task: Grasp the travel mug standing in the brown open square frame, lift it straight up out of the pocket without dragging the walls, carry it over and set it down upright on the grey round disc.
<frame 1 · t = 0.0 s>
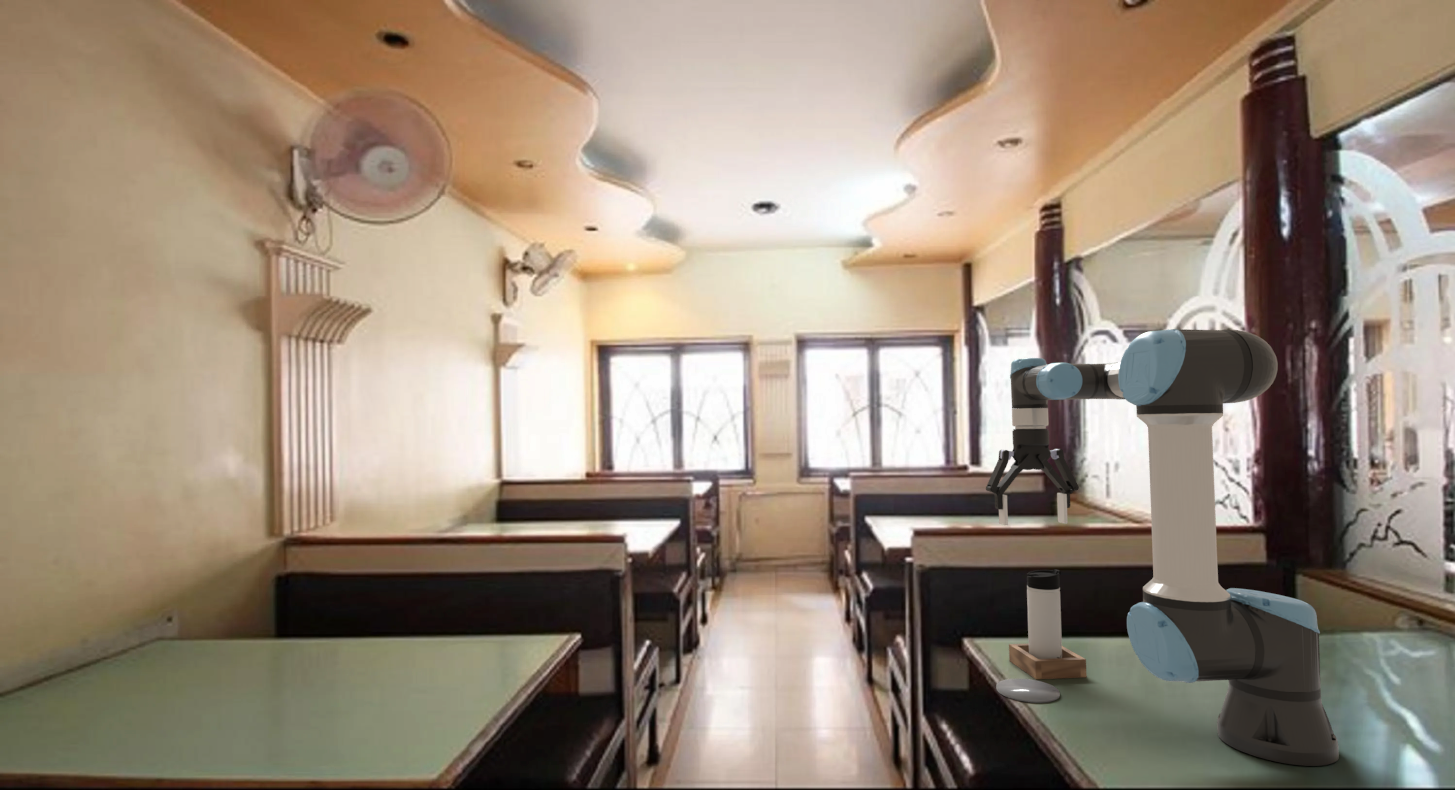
hand: (1033, 523, 164), 28 cm above the table, fingers open, 13 cm apart
brown open square frame: (1046, 668, 151), on the table
grey round disc: (1027, 691, 139), on the table
travel mug: (1046, 669, 151), resting in brown open square frame
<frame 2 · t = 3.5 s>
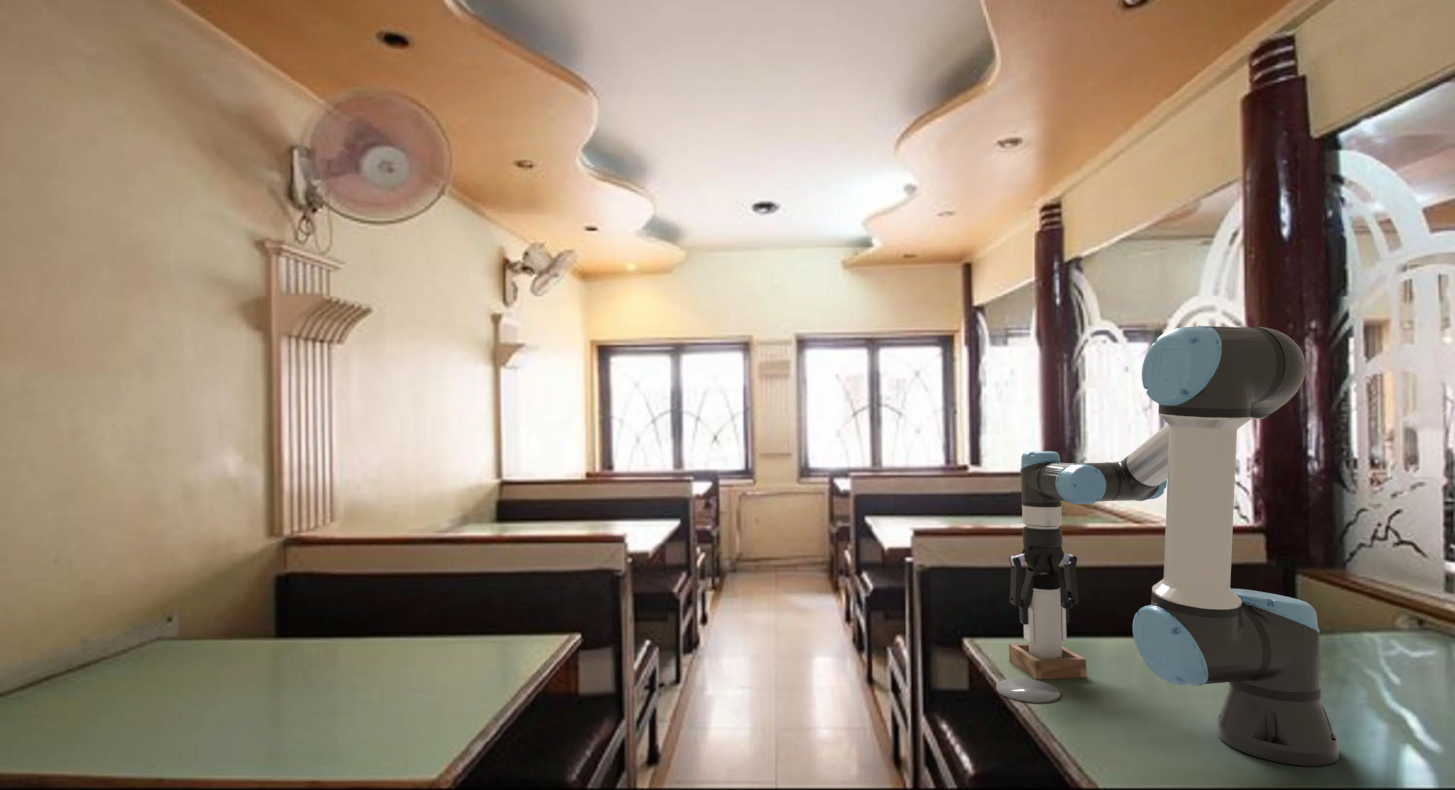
hand: (1045, 639, 152), 6 cm above the table, fingers closed on travel mug, 6 cm apart
travel mug: (1046, 669, 151), resting in brown open square frame, touching gripper
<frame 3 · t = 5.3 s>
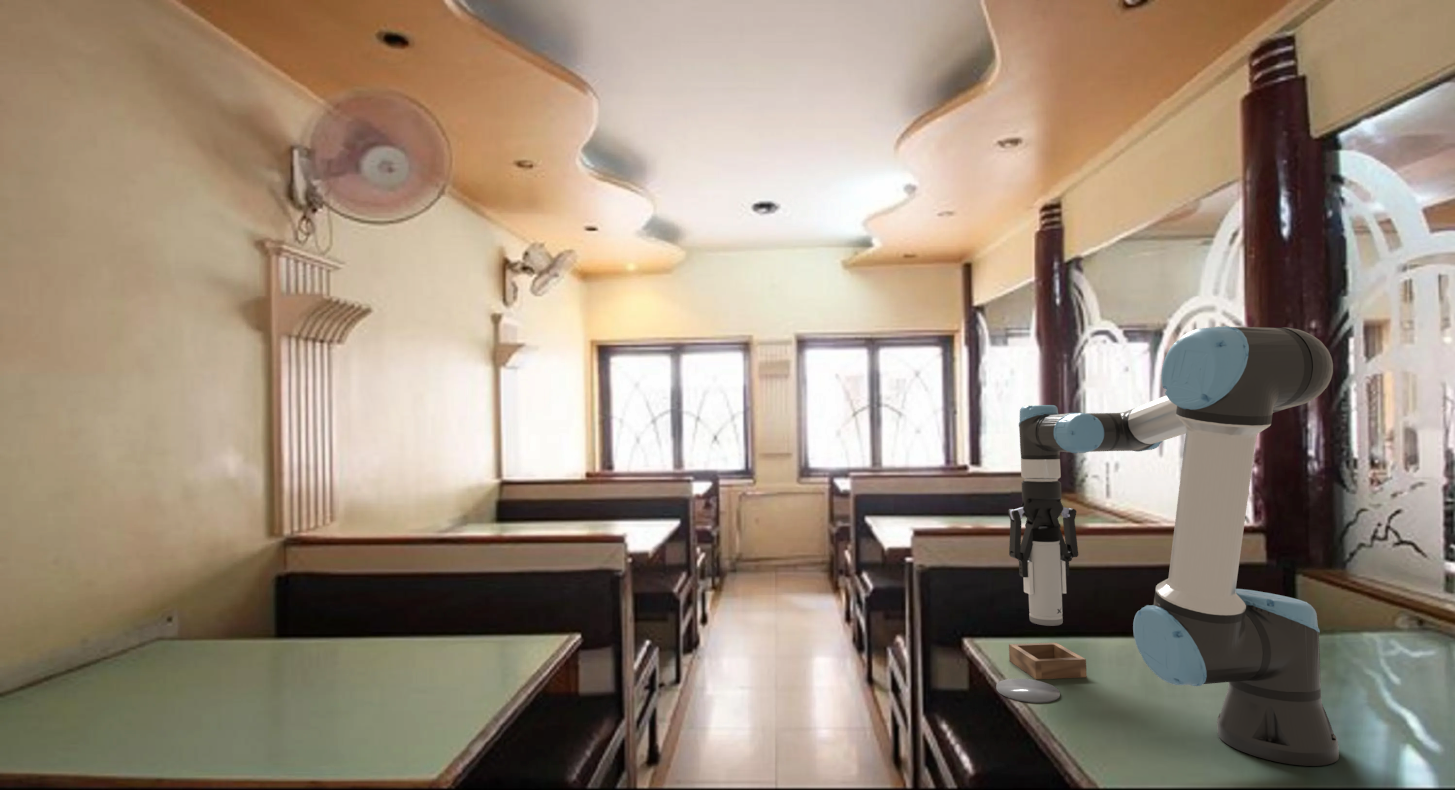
hand: (1045, 592, 152), 16 cm above the table, fingers closed on travel mug, 6 cm apart
travel mug: (1046, 623, 151), point 9 cm above the table, touching gripper
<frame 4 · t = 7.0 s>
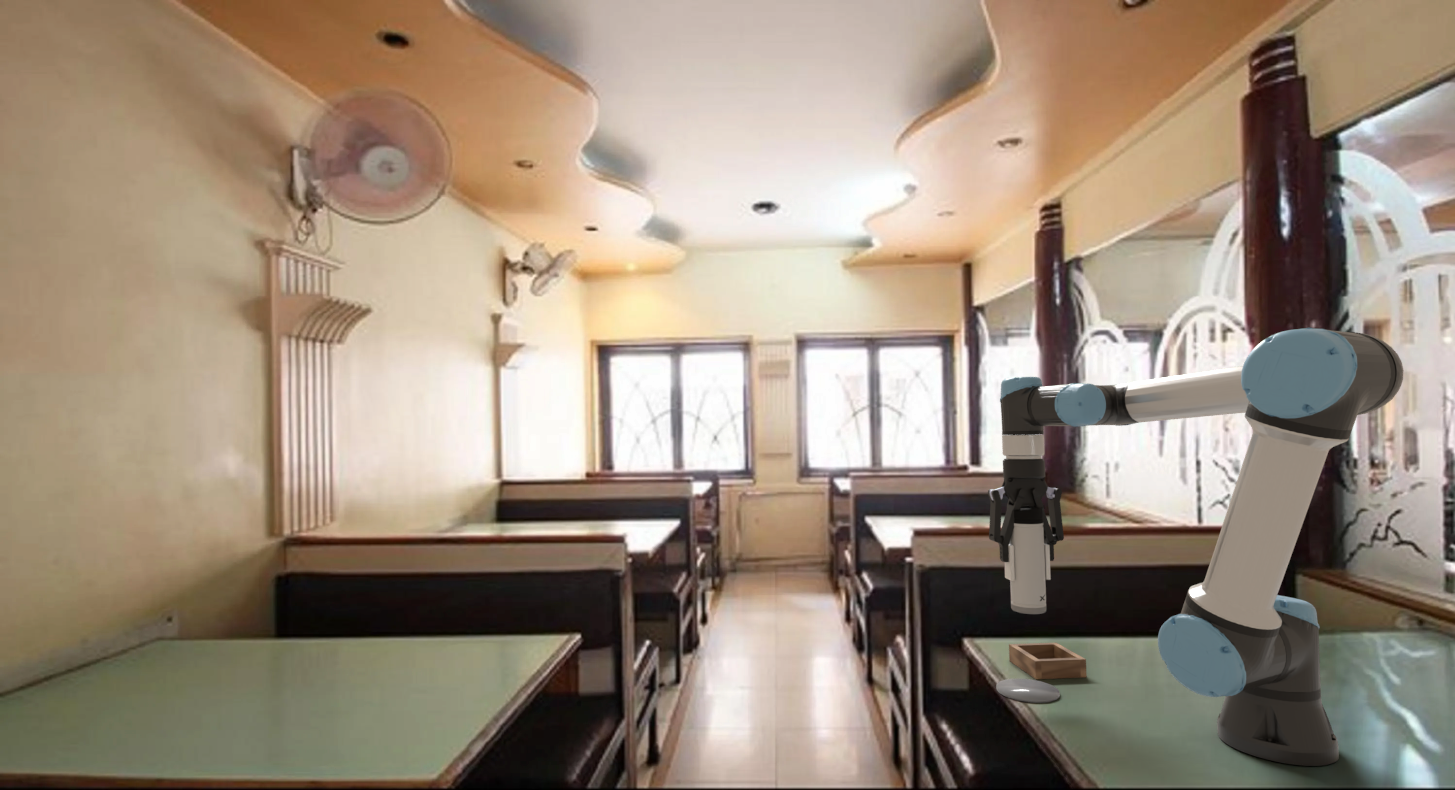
hand: (1027, 578, 141), 21 cm above the table, fingers closed on travel mug, 6 cm apart
travel mug: (1029, 611, 141), point 15 cm above the table, touching gripper
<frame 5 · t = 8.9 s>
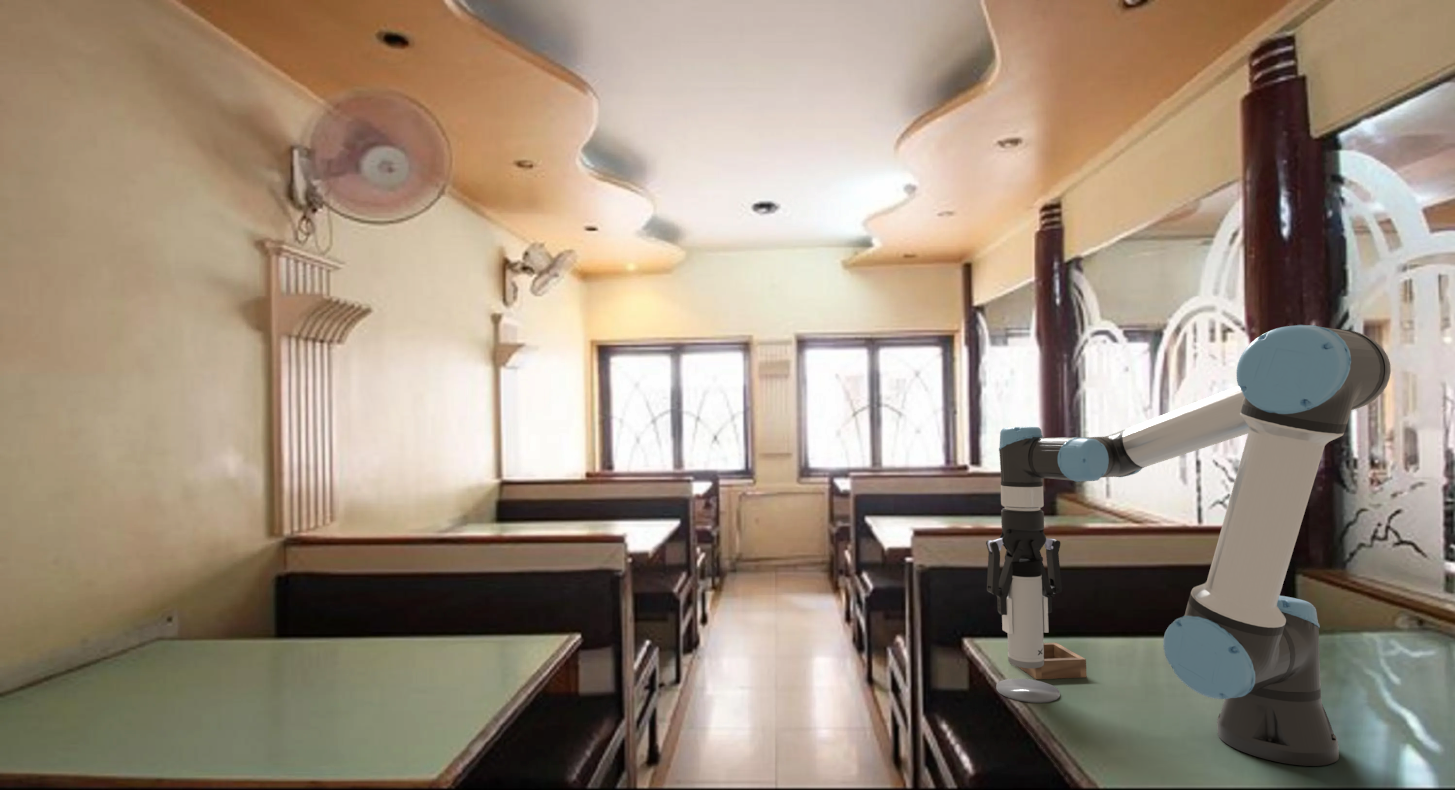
hand: (1025, 631, 139), 11 cm above the table, fingers closed on travel mug, 6 cm apart
travel mug: (1026, 664, 139), point 5 cm above the table, touching gripper
when the fingers open (8 cm above the table, at t = 10.4 s): travel mug drops 1 cm, resting on grey round disc.
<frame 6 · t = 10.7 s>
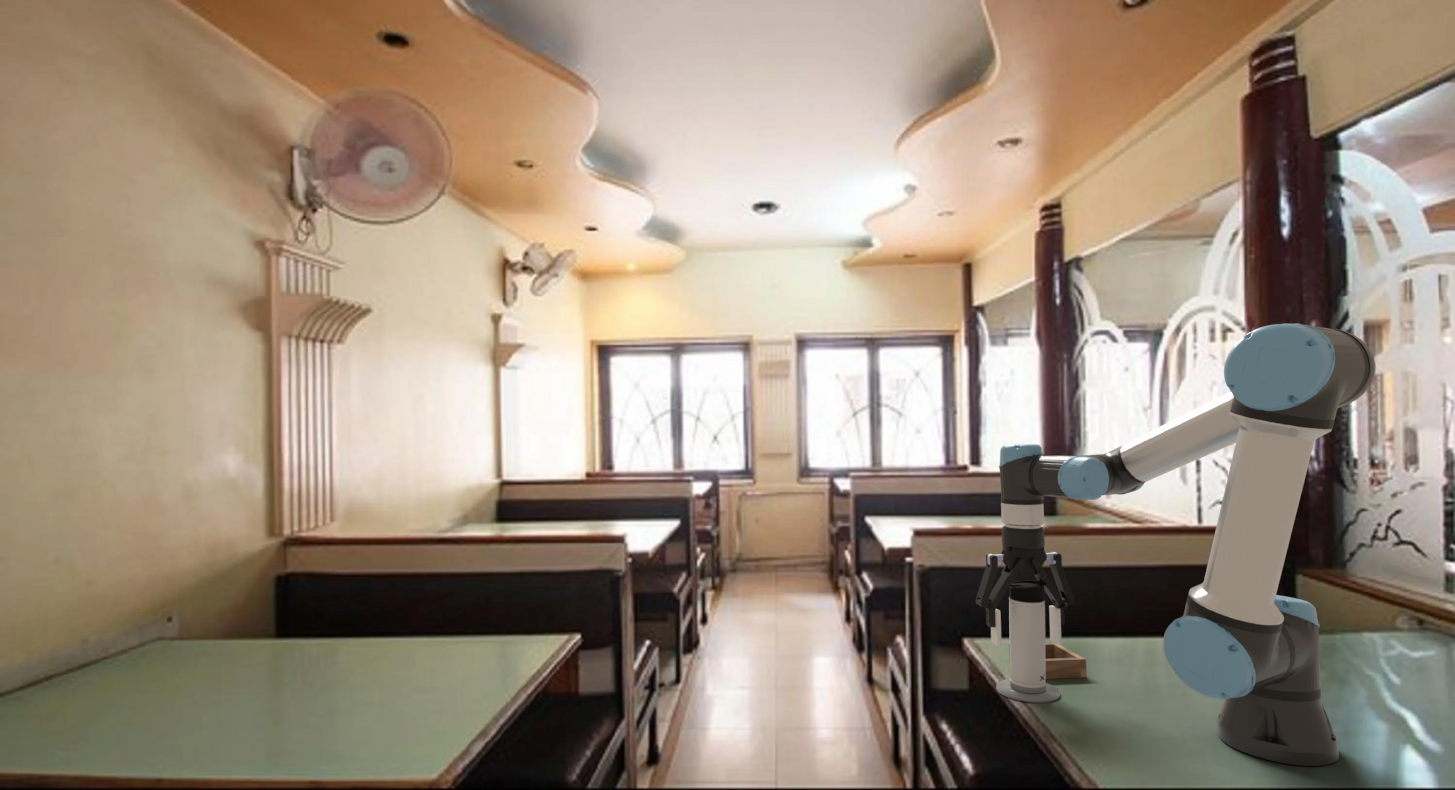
hand: (1026, 643, 139), 9 cm above the table, fingers open, 11 cm apart
travel mug: (1028, 689, 139), resting on grey round disc
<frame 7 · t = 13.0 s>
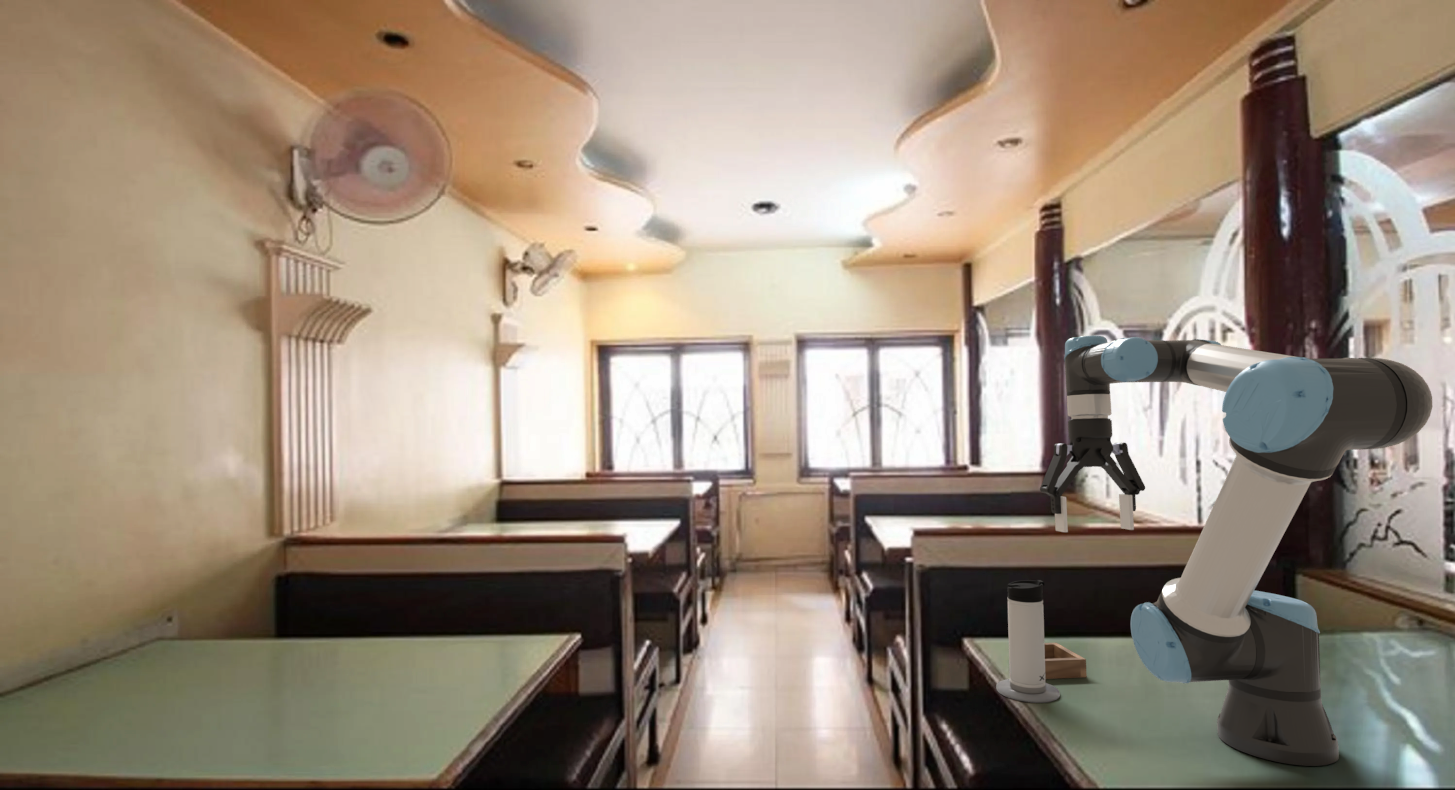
hand: (1094, 530, 139), 30 cm above the table, fingers open, 13 cm apart
nothing on the table moved.
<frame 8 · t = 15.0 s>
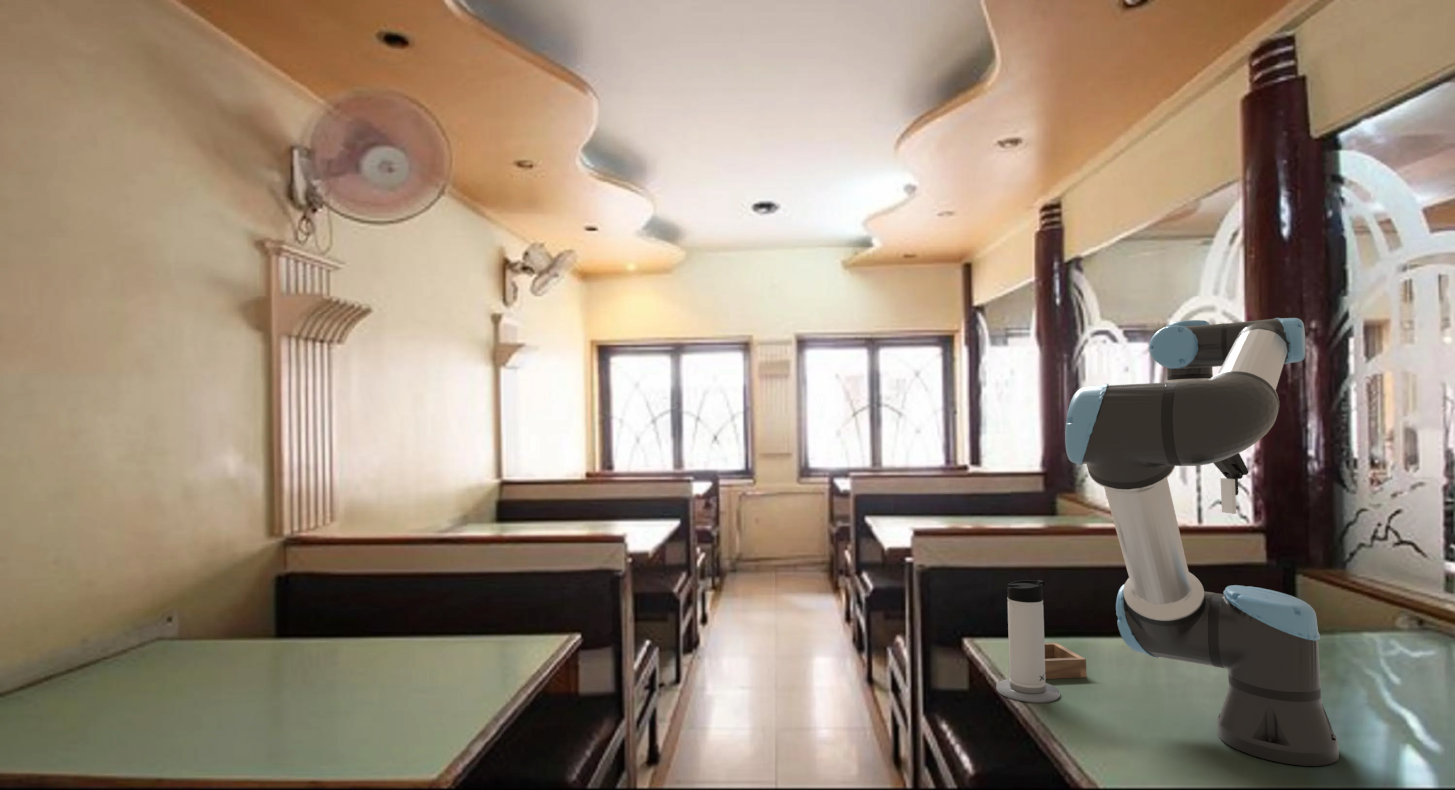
hand: (1195, 513, 140), 33 cm above the table, fingers open, 13 cm apart
nothing on the table moved.
at the end: travel mug 0.2 cm from the grey round disc (horizontally); travel mug tilted 0°; travel mug resting on grey round disc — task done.
